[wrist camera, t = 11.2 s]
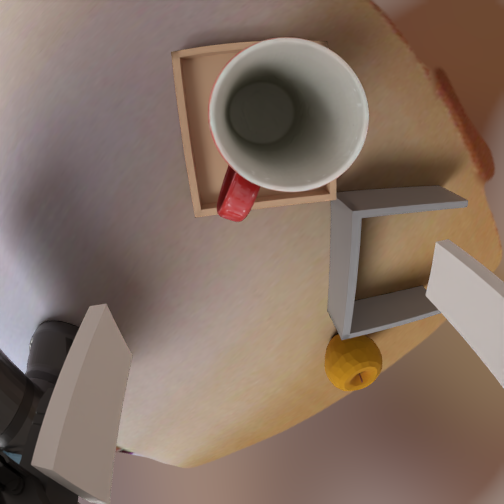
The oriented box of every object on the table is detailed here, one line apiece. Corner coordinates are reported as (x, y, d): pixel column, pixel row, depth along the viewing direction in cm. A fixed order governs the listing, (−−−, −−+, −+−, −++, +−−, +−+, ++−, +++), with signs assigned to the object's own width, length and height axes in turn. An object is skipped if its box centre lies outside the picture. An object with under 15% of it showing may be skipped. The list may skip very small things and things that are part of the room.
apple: (377, 331, 43) (400, 371, 35) (339, 364, 46) (356, 405, 38) (346, 310, 40) (370, 354, 32) (305, 347, 43) (321, 393, 35)
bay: (327, 310, 40) (341, 340, 34) (330, 192, 32) (352, 211, 26) (421, 289, 40) (441, 312, 35) (438, 185, 33) (468, 200, 27)
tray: (196, 209, 31) (195, 217, 29) (175, 56, 23) (171, 52, 21) (328, 193, 32) (336, 200, 30) (318, 45, 24) (327, 41, 22)
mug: (242, 51, 23) (262, 8, 11) (321, 97, 26) (394, 97, 14) (179, 162, 28) (151, 206, 16) (259, 201, 31) (287, 267, 19)
